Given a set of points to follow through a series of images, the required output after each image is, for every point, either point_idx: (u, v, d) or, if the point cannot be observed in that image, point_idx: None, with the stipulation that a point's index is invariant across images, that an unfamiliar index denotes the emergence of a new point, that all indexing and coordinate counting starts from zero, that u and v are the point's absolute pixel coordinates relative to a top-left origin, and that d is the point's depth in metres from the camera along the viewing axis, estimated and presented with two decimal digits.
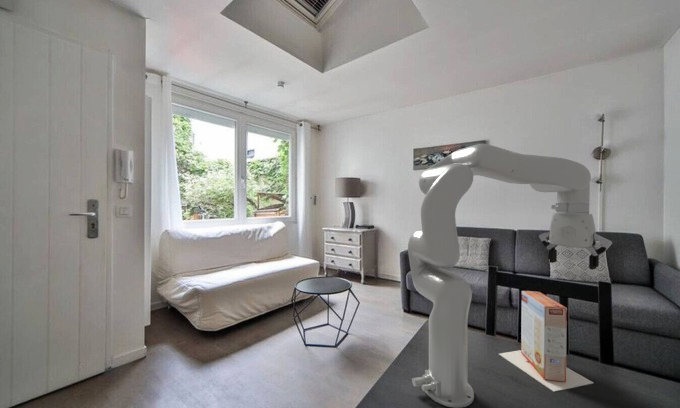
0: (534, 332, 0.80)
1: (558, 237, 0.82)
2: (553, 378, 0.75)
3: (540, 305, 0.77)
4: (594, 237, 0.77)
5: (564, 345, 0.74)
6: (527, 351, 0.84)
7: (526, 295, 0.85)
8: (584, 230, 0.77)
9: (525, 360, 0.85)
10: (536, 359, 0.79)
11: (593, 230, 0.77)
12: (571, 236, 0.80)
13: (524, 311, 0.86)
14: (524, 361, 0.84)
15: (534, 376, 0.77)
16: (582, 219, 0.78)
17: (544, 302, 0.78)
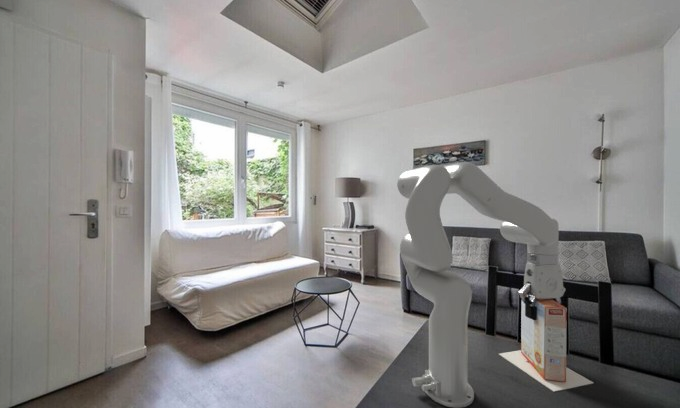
0: (534, 332, 0.80)
1: (544, 291, 0.78)
2: (553, 378, 0.75)
3: (540, 305, 0.77)
4: None
5: (564, 345, 0.74)
6: (527, 351, 0.84)
7: None
8: (560, 280, 0.79)
9: (525, 360, 0.85)
10: (536, 359, 0.79)
11: None
12: (553, 288, 0.79)
13: (524, 311, 0.86)
14: (524, 361, 0.84)
15: (534, 376, 0.77)
16: (559, 269, 0.79)
17: (544, 302, 0.78)
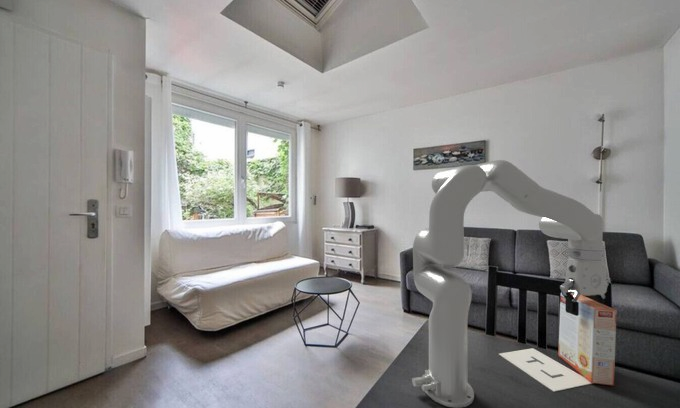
0: (578, 334, 0.79)
1: (589, 287, 0.77)
2: (601, 382, 0.73)
3: (587, 307, 0.76)
4: None
5: (613, 348, 0.73)
6: (568, 354, 0.83)
7: None
8: (604, 276, 0.78)
9: (525, 360, 0.85)
10: (581, 363, 0.77)
11: None
12: (597, 284, 0.77)
13: (564, 313, 0.85)
14: (524, 361, 0.84)
15: (534, 376, 0.77)
16: (602, 265, 0.78)
17: (591, 304, 0.76)
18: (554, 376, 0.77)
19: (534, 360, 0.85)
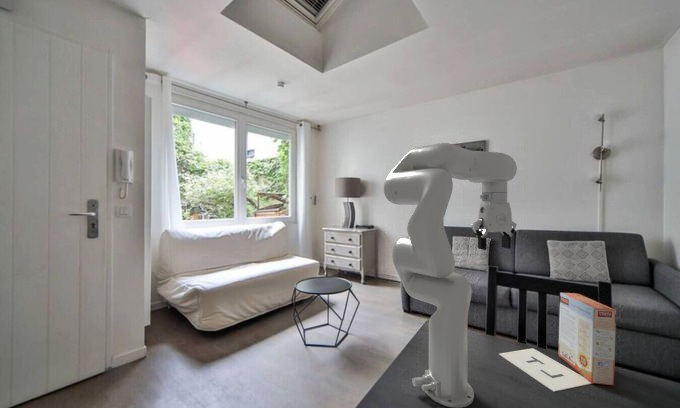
0: (578, 334, 0.79)
1: (494, 224, 0.88)
2: (601, 382, 0.73)
3: (587, 307, 0.76)
4: None
5: (613, 348, 0.73)
6: (567, 354, 0.83)
7: (567, 296, 0.84)
8: (509, 216, 0.90)
9: (525, 360, 0.85)
10: (581, 363, 0.77)
11: None
12: (502, 222, 0.89)
13: (564, 313, 0.85)
14: (524, 361, 0.84)
15: (534, 376, 0.77)
16: (508, 206, 0.90)
17: (591, 304, 0.76)
18: (554, 376, 0.77)
19: (534, 360, 0.85)
